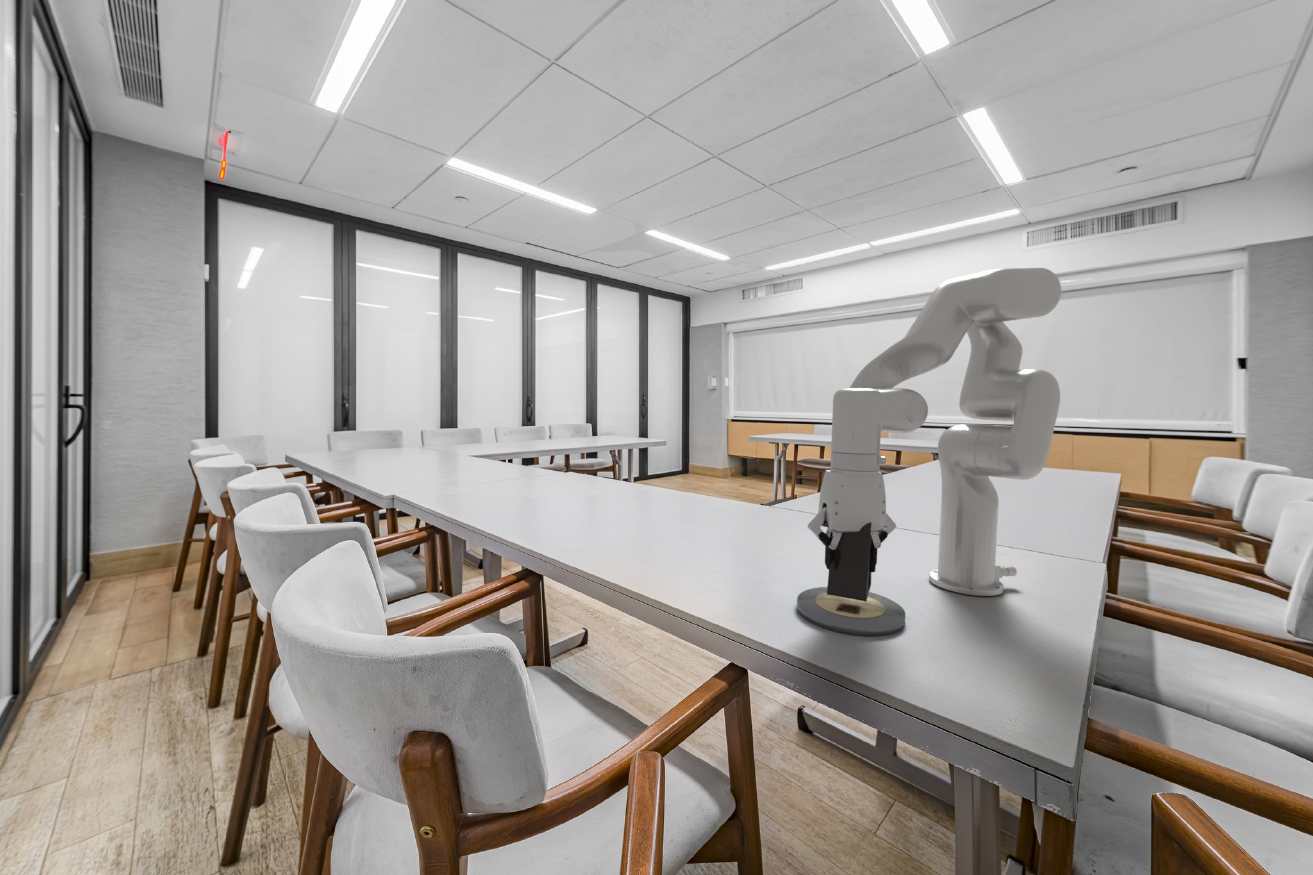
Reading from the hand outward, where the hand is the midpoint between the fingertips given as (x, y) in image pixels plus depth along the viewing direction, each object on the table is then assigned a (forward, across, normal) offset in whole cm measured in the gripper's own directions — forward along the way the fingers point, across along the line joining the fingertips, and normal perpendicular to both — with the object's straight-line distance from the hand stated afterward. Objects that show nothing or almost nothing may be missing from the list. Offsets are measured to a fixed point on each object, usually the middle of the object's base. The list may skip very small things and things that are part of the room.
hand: (850, 569), depth 85 cm
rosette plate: (+8, 0, 0) cm, 8 cm away
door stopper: (+4, 0, 0) cm, 4 cm away
